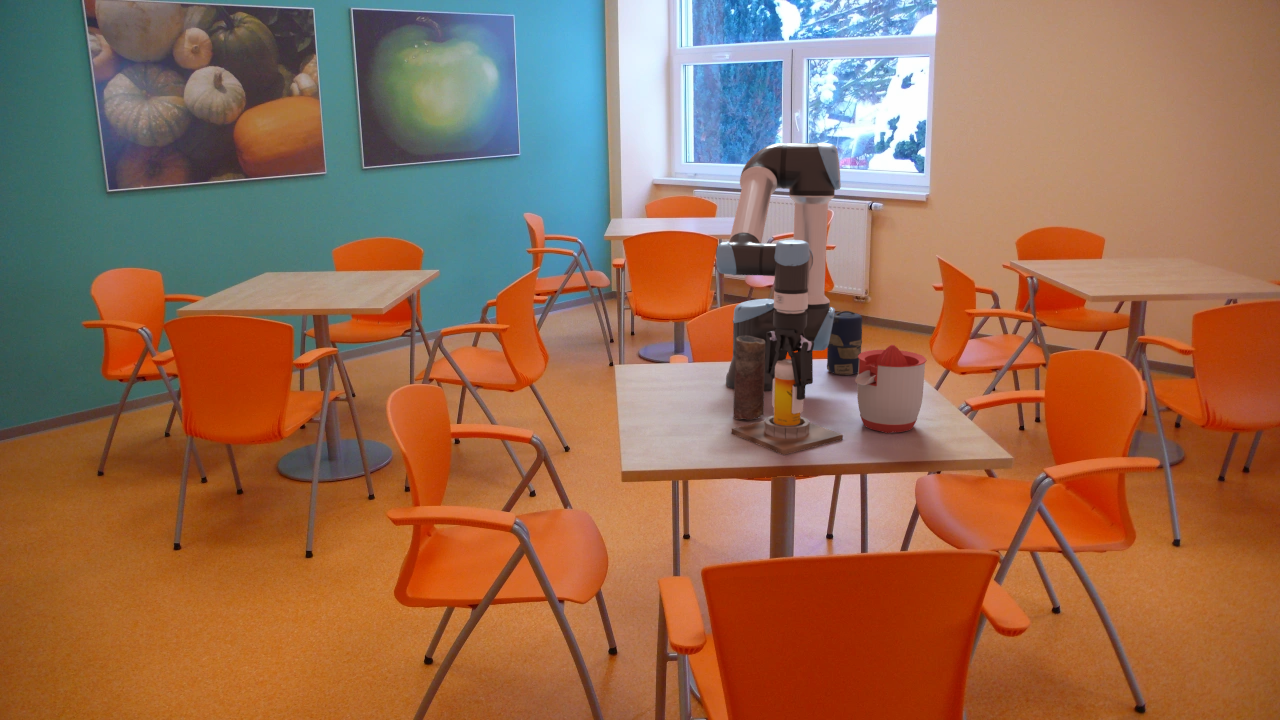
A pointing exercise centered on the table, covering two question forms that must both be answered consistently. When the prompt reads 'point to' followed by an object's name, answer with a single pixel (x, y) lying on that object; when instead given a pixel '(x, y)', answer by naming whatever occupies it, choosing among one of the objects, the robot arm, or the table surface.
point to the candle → (749, 378)
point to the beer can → (784, 395)
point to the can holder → (786, 435)
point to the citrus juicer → (890, 388)
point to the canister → (845, 343)
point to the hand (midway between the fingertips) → (787, 408)
